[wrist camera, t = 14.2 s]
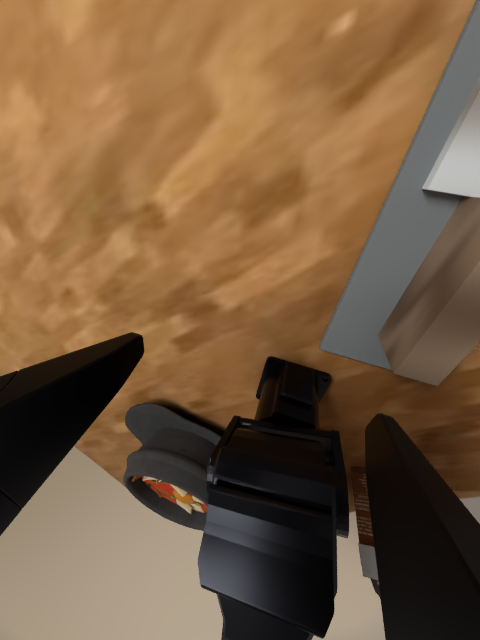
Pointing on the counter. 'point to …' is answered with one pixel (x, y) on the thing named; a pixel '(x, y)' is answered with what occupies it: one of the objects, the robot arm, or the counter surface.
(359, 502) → the food container
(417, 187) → the rest mat
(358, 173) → the counter surface
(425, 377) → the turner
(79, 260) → the counter surface
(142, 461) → the casserole
